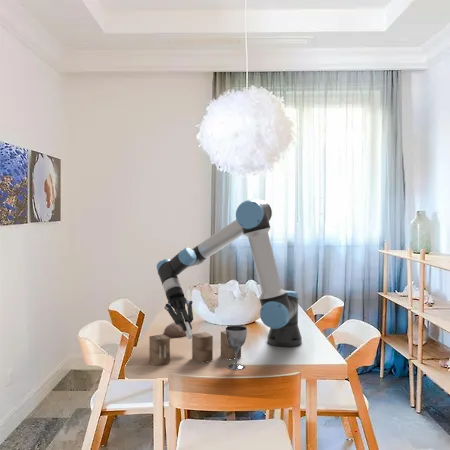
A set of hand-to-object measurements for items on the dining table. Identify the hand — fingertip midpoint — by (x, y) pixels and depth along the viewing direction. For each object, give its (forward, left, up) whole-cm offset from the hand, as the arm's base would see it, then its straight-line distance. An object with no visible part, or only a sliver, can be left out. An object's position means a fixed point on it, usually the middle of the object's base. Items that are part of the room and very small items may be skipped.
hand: (190, 337), depth 197 cm
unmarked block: (-7, +8, -6) cm, 12 cm away
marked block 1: (+9, +14, -6) cm, 18 cm away
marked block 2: (-17, +2, -6) cm, 19 cm away
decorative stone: (+13, -25, -7) cm, 29 cm away
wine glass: (-21, +13, -7) cm, 26 cm away
